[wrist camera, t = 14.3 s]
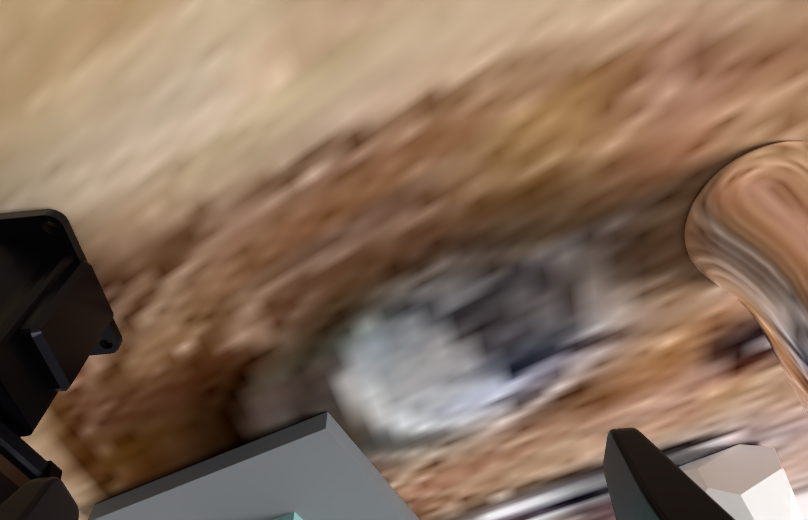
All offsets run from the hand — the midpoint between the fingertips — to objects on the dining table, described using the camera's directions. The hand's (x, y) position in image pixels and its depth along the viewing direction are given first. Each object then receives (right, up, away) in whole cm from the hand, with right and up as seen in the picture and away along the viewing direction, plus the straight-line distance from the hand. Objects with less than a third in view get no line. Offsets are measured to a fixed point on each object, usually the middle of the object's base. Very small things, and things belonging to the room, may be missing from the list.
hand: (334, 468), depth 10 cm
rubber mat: (-5, -12, +23) cm, 26 cm away
